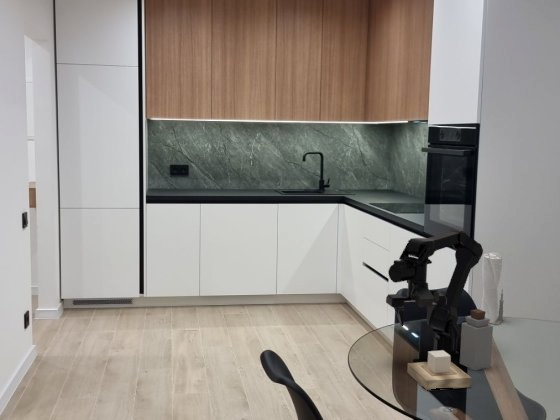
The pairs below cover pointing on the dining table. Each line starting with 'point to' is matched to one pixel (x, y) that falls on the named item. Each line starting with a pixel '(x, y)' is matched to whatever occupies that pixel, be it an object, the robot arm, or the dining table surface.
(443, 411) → the dining table surface
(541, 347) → the dining table surface
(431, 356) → the cream cube
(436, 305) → the robot arm
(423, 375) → the oak base
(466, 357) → the perfume bottle
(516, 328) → the dining table surface
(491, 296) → the skyscraper
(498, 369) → the dining table surface
